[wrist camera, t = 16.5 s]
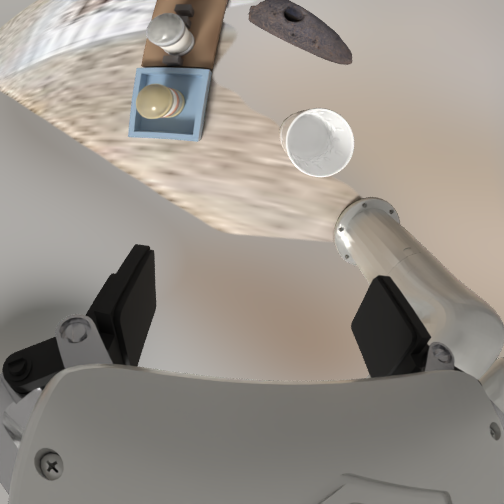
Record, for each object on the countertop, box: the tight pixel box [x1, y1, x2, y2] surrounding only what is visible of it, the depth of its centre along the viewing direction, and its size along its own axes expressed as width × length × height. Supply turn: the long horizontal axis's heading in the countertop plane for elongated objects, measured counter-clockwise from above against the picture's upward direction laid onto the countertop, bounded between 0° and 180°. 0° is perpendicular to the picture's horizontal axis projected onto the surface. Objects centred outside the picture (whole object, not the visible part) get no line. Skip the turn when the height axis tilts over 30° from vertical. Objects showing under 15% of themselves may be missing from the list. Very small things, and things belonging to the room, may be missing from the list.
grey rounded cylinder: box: [146, 13, 195, 57], centre depth 23 cm, size 4×4×8 cm
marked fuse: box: [136, 84, 185, 119], centre depth 28 cm, size 4×4×8 cm
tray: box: [128, 68, 212, 142], centre depth 31 cm, size 10×10×3 cm
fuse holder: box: [141, 0, 228, 70], centre depth 24 cm, size 10×15×4 cm, turn 170°
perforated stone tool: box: [249, 0, 352, 65], centre depth 25 cm, size 15×5×7 cm, turn 59°
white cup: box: [279, 108, 354, 177], centre depth 31 cm, size 8×8×10 cm
